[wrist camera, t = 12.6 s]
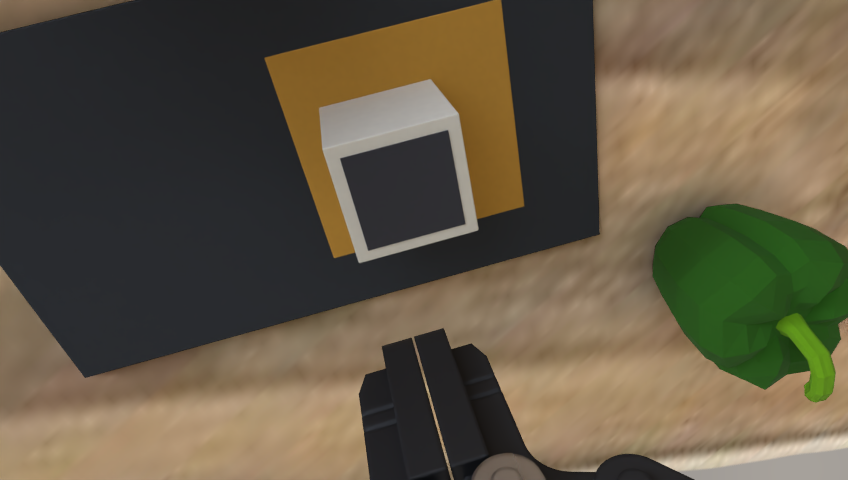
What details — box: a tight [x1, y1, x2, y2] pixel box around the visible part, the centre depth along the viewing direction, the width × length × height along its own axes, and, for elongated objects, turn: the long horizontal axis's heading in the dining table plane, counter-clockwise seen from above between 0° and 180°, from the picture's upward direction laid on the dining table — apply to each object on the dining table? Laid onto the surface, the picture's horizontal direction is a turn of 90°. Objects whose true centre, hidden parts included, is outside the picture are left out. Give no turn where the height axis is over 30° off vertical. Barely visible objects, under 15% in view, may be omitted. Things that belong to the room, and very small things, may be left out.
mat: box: [0, 0, 600, 378], centre depth 25 cm, size 16×28×1 cm, turn 102°
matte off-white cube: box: [319, 79, 479, 263], centre depth 23 cm, size 5×5×5 cm
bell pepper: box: [653, 204, 848, 402], centre depth 28 cm, size 8×8×10 cm
